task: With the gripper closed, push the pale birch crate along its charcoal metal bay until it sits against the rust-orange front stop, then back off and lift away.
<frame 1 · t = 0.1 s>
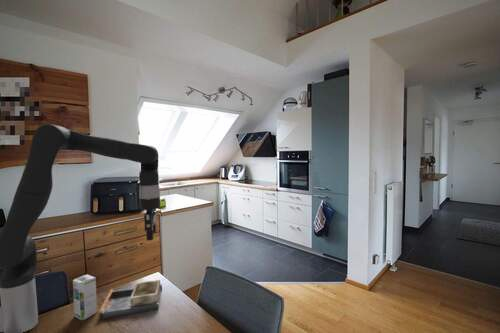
hand: (151, 236, 99), 29 cm above the table, fingers open, 8 cm apart
bay: (132, 302, 103), on the table
syrup box: (86, 314, 97), on the table
crate: (146, 293, 105), point 3 cm above the table, slide at 9.0 cm
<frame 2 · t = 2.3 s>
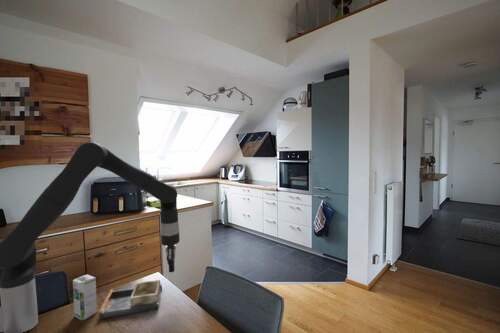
hand: (171, 271, 107), 11 cm above the table, fingers closed
nothing on the table moved.
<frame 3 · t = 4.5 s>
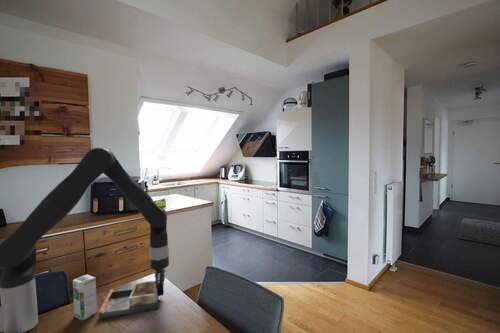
hand: (160, 294, 106), 2 cm above the table, fingers closed
crate: (145, 293, 104), point 3 cm above the table, slide at 8.6 cm, touching gripper
everything else where it was.
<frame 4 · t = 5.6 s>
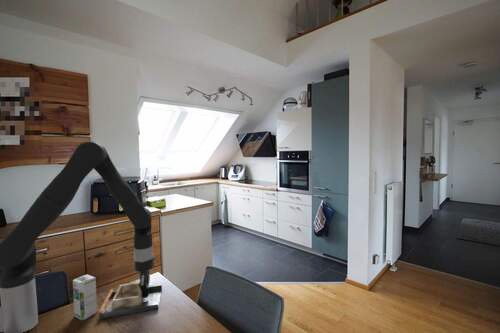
hand: (145, 296, 104), 2 cm above the table, fingers closed
crate: (129, 296, 103), point 3 cm above the table, slide at 2.5 cm, touching gripper
everything else where it was.
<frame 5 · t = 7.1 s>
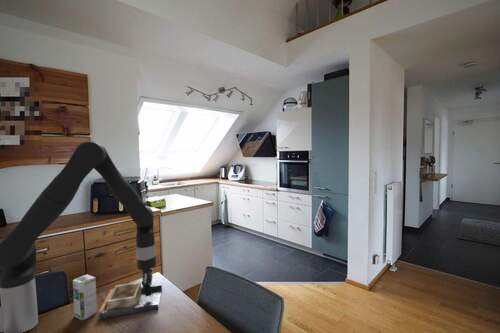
hand: (148, 295, 105), 2 cm above the table, fingers closed
crate: (125, 296, 103), point 3 cm above the table, slide at 0.9 cm
everything else where it was.
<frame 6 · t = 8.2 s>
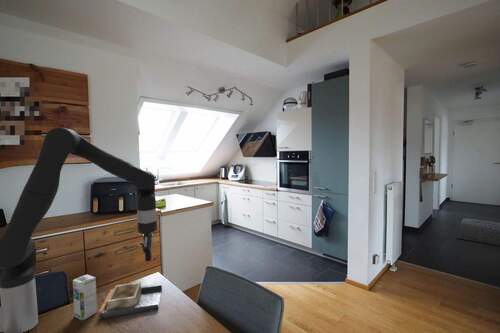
hand: (148, 260, 104), 17 cm above the table, fingers closed
nothing on the table moved.
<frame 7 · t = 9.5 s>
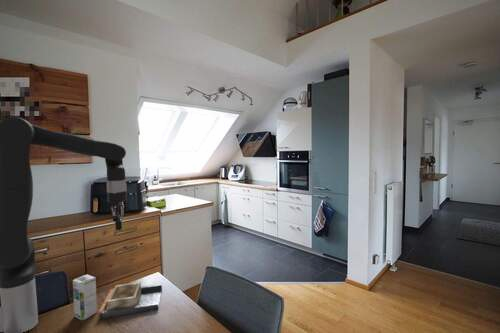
hand: (118, 229, 109), 29 cm above the table, fingers closed
nothing on the table moved.
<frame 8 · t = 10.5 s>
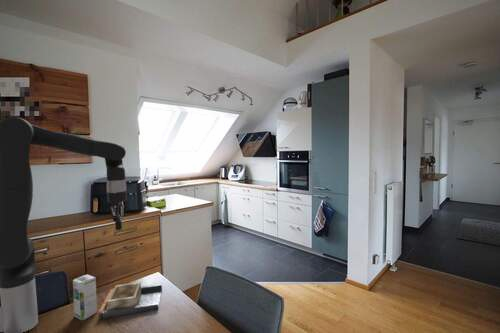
hand: (118, 229, 109), 29 cm above the table, fingers closed
nothing on the table moved.
at the end: crate slide at 0.9 cm; syrup box moved 0.2 cm from its start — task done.
